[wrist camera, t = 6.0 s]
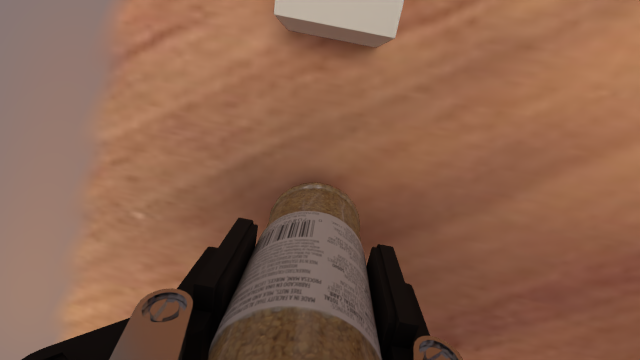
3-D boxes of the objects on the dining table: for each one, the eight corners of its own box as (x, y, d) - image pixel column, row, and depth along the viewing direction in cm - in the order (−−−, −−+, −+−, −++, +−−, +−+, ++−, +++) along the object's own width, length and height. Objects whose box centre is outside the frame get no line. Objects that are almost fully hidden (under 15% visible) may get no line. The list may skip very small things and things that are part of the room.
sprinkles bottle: (280, 264, 16) (90, 929, 4) (262, 185, 15) (-162, 825, 2) (365, 255, 16) (490, 973, 3) (355, 172, 14) (508, 885, 2)
